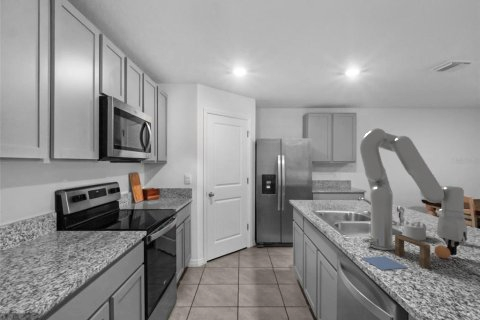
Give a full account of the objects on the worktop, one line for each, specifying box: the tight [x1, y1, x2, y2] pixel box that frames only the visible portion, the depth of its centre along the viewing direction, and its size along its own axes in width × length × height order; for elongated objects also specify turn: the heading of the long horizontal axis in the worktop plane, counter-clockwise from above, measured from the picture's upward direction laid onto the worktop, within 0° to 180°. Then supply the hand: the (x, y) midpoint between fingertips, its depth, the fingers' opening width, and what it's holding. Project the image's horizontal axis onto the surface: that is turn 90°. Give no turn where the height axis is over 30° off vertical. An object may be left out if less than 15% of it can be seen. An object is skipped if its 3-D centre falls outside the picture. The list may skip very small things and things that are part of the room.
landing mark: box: [361, 255, 408, 271], centre depth 103 cm, size 12×12×1 cm
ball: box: [434, 245, 451, 259], centre depth 108 cm, size 6×6×6 cm
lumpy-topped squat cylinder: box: [403, 220, 427, 241], centre depth 138 cm, size 10×13×9 cm
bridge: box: [394, 234, 431, 269], centre depth 105 cm, size 3×14×9 cm, turn 10°
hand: (451, 254), depth 109 cm, fingers closed
